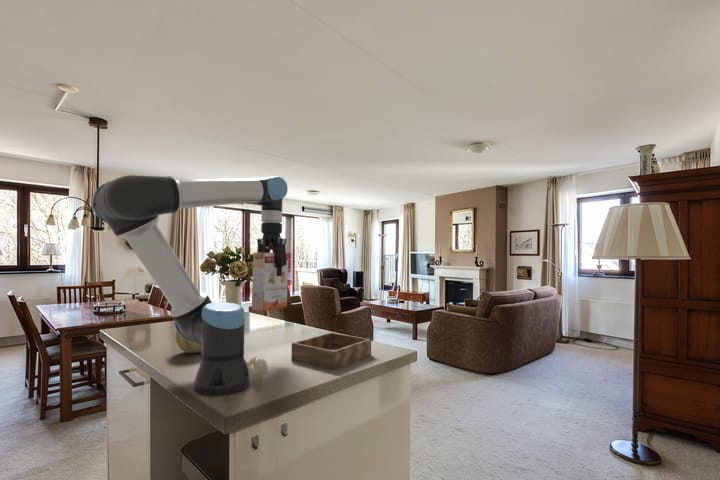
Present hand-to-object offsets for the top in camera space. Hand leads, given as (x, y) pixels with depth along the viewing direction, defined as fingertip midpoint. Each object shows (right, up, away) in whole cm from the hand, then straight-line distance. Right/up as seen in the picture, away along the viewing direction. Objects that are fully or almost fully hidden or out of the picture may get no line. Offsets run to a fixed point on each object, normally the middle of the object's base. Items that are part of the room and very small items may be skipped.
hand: (270, 284), depth 133 cm
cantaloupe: (-31, -27, +6) cm, 41 cm away
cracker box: (0, -9, 0) cm, 9 cm away
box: (+23, -27, 0) cm, 35 cm away
